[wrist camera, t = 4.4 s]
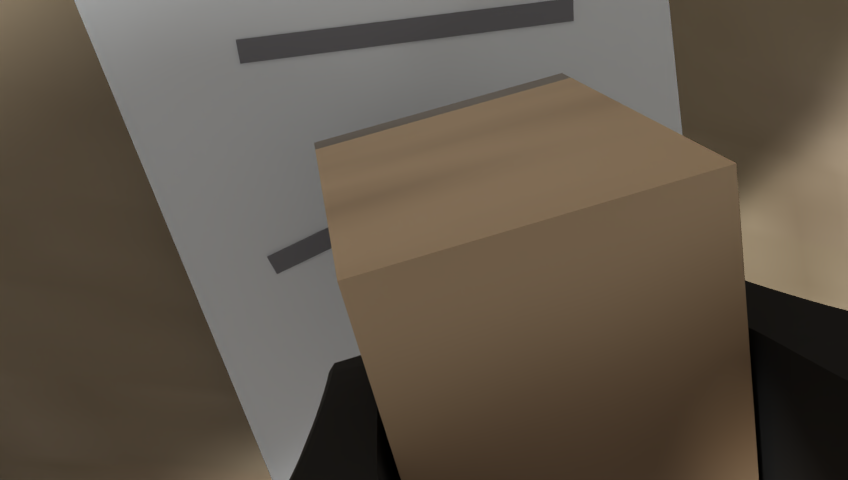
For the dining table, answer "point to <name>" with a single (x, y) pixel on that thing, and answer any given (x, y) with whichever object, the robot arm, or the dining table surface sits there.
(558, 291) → the block
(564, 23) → the board
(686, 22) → the dining table surface
